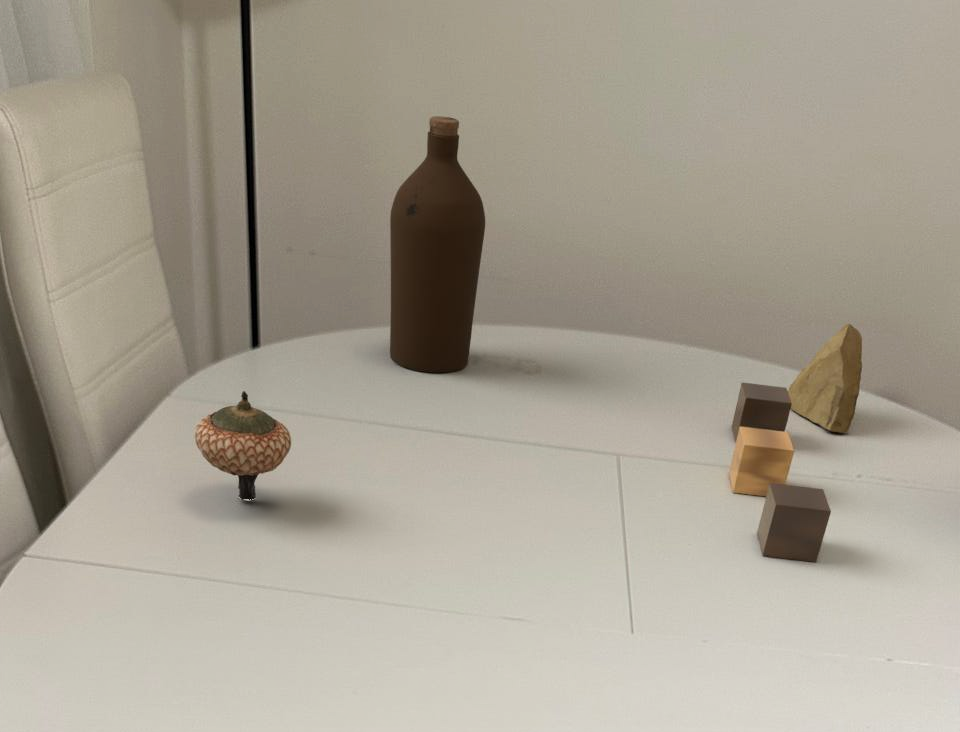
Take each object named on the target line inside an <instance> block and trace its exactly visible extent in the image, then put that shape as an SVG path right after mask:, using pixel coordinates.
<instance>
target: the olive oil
mask: <svg viewBox="0 0 960 732" xmlns="http://www.w3.org/2000/svg"><path fill="white" fill-rule="evenodd" d="M428 124H429V131H427V141H426V143H427V144H426V156H425V159H424V160H423V161H422V162H421V163H420V165H418V166H417V167H416V169H414V171H413V172H412V173H411V174H410V175H408V177H407V178H406V179H405V180H404V181H403V182H402V184H401V185H399V188H398V189H397V190H396V193H395V196H394V199H393V202H392V205H391V209H390V216H389V217H390V218H389V220H390V221H389V224H390V225H389V227H390V229H389V230H390V231H389V232H390V235H389V236H390V238H389V239H390V328H389V330H390V332H389V334H390V335H389V336H390V337H389V357H390V359H391V360H392V361H393V362H394V363H395V364H397V365H398V366H400V367H403V368H406V369H409V370H413V371H419V372H426V373H451V372H456V371H460V370H462V369H464V368H465V367H467V366H468V364H469V360H470V351H471V341H472V332H473V325H474V323H473V322H474V315H475V308H476V307H475V306H476V298H477V291H478V282H479V275H480V270H481V269H480V268H481V262H482V253H483V246H484V239H485V231H486V213H485V208H484V207H485V206H484V204H483V203H484V202H483V200H482V197H481V195H480V193H479V191H478V190H477V188H476V187H475V185H474V184H473V182H472V181H471V179H470V178H469V177H468V174H467V173H466V172H465V170H464V169H463V168H462V166H461V164H460V162H459V159H458V155H459V144H460V141H459V140H460V135H459V134H458V132H459V128H460V121H459V120H458V119H457V118H454V117H450V116H441V115H440V116H431V117H430V118H429V123H428Z"/></svg>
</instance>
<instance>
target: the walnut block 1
mask: <svg viewBox="0 0 960 732" xmlns="http://www.w3.org/2000/svg"><path fill="white" fill-rule="evenodd" d="M788 391H789V390H788V389H787V387H784V386H775V385H768V384H759V383H752V382H751V383H750V382H741V384H740V388H739V392H738V397H737V400H736V405H735V408H734V409H735V410H734V415H733V419H732V423H731V430H732V434H733V438H734V442H735V444H736V440H737V435H738V431H739V427H740V426H741V427H749V428H757V429H766V430H774V431H782V432H786V428H787V424H788V420H789V417H790V413H791V410H792V409H791V405H792V402H791V399H790V397H789V394H788Z"/></svg>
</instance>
